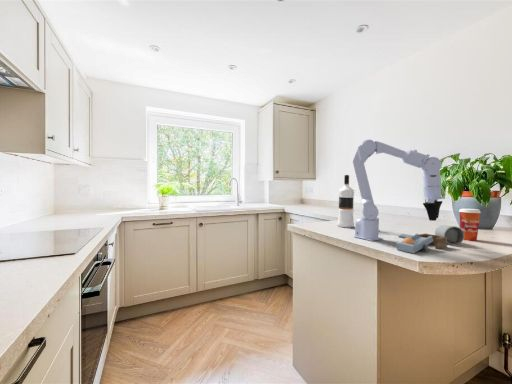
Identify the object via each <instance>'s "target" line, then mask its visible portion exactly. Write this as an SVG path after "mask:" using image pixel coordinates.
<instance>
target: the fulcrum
mask: <svg viewBox="0 0 512 384" xmlns="http://www.w3.org/2000/svg"><path fill="white" fill-rule="evenodd" d="M417 252H423V253H428V252H429V244H428V245H424V248H422V249H420V250H418V251H417Z"/></svg>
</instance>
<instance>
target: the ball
mask: <svg viewBox="0 0 512 384" xmlns="http://www.w3.org/2000/svg"><path fill="white" fill-rule="evenodd" d="M402 241H403V243H406V244H411V245H414V240H413V239H412V238H409V237H407V238H405V239H403V240H402Z"/></svg>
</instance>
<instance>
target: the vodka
mask: <svg viewBox="0 0 512 384" xmlns="http://www.w3.org/2000/svg"><path fill="white" fill-rule="evenodd" d="M343 178H344V181H343V183H344V184H343V186H342V187H341V188H339V190H338V210H337V211H338V214H337V215H338V217H337V222H336V223H337V226H338V227H340V228H346V229H348V228H350V229H351V228H353V227H354V228H355V221H354V199H355V196H354V195H355V190H354V189H353V188H352V187H351V186H350V175H349V174H344V177H343Z"/></svg>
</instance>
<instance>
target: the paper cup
mask: <svg viewBox="0 0 512 384" xmlns="http://www.w3.org/2000/svg"><path fill="white" fill-rule="evenodd" d="M458 212H459V228H460V229H461V230H462V231H463V233H464V239H463V241H468V242H476V241H478V233H479V226H480V225H479V224H480V217H481V213H482V211H481V210H480V209H477V208H460V209H459V210H458Z"/></svg>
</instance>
